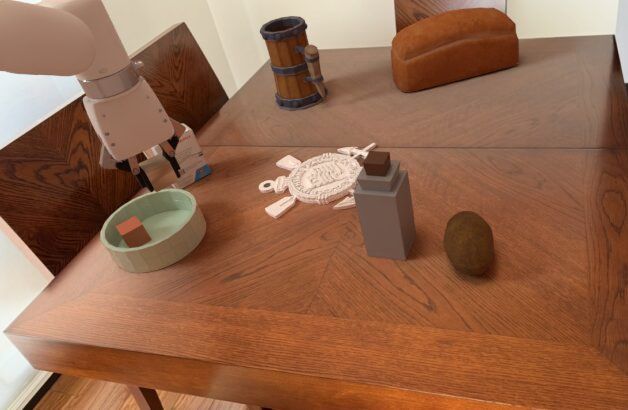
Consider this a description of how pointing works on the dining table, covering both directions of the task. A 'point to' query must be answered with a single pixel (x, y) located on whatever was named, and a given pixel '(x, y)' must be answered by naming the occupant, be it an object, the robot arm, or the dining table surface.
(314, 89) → the mug
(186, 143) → the ink box
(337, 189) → the pendant
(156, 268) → the bowl
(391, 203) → the perfume bottle
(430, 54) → the bread
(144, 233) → the terracotta block
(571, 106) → the dining table surface
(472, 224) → the potato
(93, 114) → the robot arm
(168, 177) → the cream block
